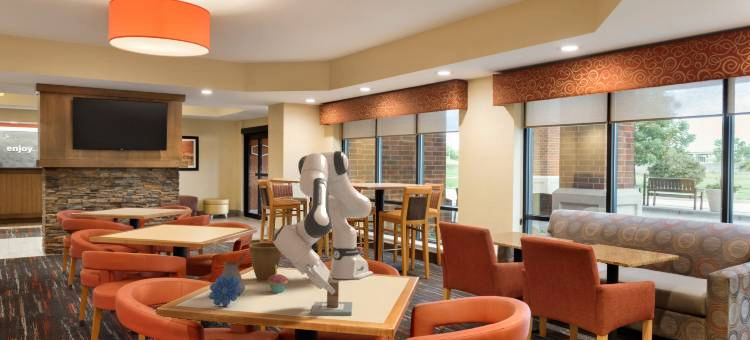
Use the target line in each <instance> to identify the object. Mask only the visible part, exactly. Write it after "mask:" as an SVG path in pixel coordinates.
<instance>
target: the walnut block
mask: <svg viewBox="0 0 750 340" xmlns="http://www.w3.org/2000/svg"><path fill="white" fill-rule="evenodd" d="M328 283H329V285H330V286H331V287H333V288H334V289H335V293H334V294H331V293H330V292H329V291H327V290H326V302H327V308H338V302H339V299H340V298H339V294H340V293H339V290H340V289H339V288H340V287H339V285H340V280H333V281H328Z"/></svg>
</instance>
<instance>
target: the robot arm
mask: <svg viewBox="0 0 750 340" xmlns="http://www.w3.org/2000/svg"><path fill="white" fill-rule="evenodd" d="M349 163H350V162H349V158H348V155H347V154H346V153H345V151H344V152H343V151H342V150H335V151H323V152H313V153H309V154H307V155H304V156H302V157H300V158H299V160H298V163H297V164H298V165H297V166H298V167H297V168H298V173H299V175H300V176H299V188H300V192H301V193H302V194H304V195H305V196H307V197H309V198H311V208H310V210H309V211H308V213H307V214H306V215H305V217H303V218H302V219H301V220H300V221H299V222H296V223H294V224H283V225H281V227H280V228H279V229H278V230H277V231H276V233H274V236H273V237H272V241H273V242H272V243H274V244H275V246H276V247H277V248H278V250H279V251H280V252H281V255H283V256H284V257H285V258H286V259H288V260H289V261H290V262H291V264H292V265H293V266H294V268H295V269H297V270H298V272H299V273H300V274H301V275H305V274H306V276H307V277H308V278H309V280H310V281H311V282H312V283H313V284H314V285H315V287H316V288H318V289H320V290H322V289H324V290H326V292H327V291H329V292H330V293H331V294H334V293H335V289H334V288H333V287H331V286H330V285H329V283H328V281H334V279H339V280H362V279H363V278H366V277H368V276H372V275H373V274H374V272H373V271H371V270H369V264H368V261H367V260H366V259H364V257H362V256H361V255H360V252H362V251H363V247H362V246H357V237H358V235H357V233H358V232H357V230H356V228H355V227H353V226H352V225H350V224H349V223H348V221H347V219H364V218H368V216H369V215H370V214H371V211H372V202H371V200H370V199H369V198H368V197H367V196H365V195H363V194H362V193H360V192H359V191H358V190H357V189H356V188H354V186H353V185H352V183H351V181H350V178H349V177H348V174H347V172H348V170H349V165H350V164H349ZM331 229H332V235H333V237H332V238H333V240H332V241H333V246H332V252H331V253H332V258H331V264H330V269H329V268H328V266H326V264H325V263H324V262H323V261H322V260H321V259H320V258H321V257H320V256H319V254H318V253H316V252H315V250H314V249H313V248H311V246H313V245H314V244H315V243H317V242H318V241H319V240H320V239H321V238H323V236H325V235H327V234H328V233H329V232H330V231H331Z"/></svg>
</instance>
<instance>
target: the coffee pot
mask: <svg viewBox="0 0 750 340" xmlns="http://www.w3.org/2000/svg"><path fill="white" fill-rule="evenodd" d="M249 255H250V253H247V251H245V252H243V254H242V256H240V258H239V259H238V261H224V262H222V265H223V268H224V269H223V271H222V273H221V275H220V276H223V277H225V276H226V275H227V274H231V275H232V276H233V278H234V277H238V278H239V283H238V284H237V285H240V286H241V291H240V292H238V293H237V295H238V296H240V295H241V294H242V293H244V291H245V289H246V285H245V282H244V281H243V280H244V279H243V278H242V275H241V273H240V270H239V265H240V263H241V262H242V261H243V260H244V258H245V257H246V256H247V257H249ZM233 278H232V279H233Z"/></svg>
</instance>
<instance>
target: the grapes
mask: <svg viewBox="0 0 750 340" xmlns="http://www.w3.org/2000/svg"><path fill="white" fill-rule="evenodd" d="M232 278H233V276H232V275H231V274H227V275H226V276H225V277H223V276H221V275H219V276H218V277H216V279H215V282H213V283H212V284H210V286H209V290H210V291H211V292H209V295H208V298H209V299H210V300H213V304H214V305H215V306H220V305H222V306H223V307H227V306H229V305H230V304H231V302H235V301H237V299H238V297H239V295H237V293H238V292H240V291H241V286H240V285H237V284H238V283H239V278H238V277H234V278H233V279H232Z"/></svg>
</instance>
